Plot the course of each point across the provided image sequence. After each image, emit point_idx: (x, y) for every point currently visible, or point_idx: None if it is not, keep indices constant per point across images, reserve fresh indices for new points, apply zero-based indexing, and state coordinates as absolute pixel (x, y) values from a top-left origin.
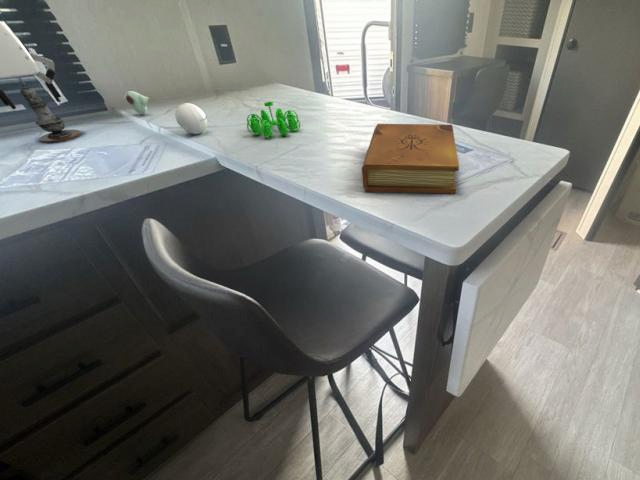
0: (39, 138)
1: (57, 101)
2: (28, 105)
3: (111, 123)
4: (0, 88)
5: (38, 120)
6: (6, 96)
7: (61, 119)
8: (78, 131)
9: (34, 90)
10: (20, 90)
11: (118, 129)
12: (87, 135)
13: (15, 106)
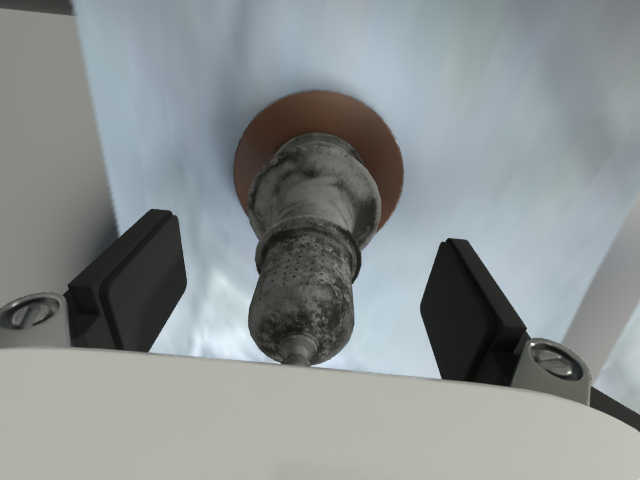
0: (234, 162)
1: (421, 307)
2: (256, 255)
3: (582, 127)
4: (93, 285)
5: (266, 220)
6: (151, 343)
7: (365, 246)
8: (395, 196)
9: (349, 338)
10: (254, 337)
11: (523, 258)
12: (403, 239)
13: (179, 232)
